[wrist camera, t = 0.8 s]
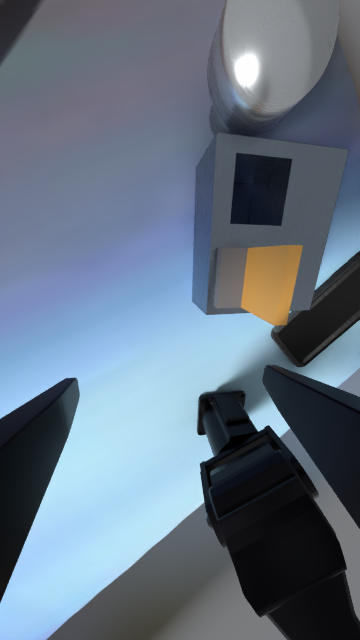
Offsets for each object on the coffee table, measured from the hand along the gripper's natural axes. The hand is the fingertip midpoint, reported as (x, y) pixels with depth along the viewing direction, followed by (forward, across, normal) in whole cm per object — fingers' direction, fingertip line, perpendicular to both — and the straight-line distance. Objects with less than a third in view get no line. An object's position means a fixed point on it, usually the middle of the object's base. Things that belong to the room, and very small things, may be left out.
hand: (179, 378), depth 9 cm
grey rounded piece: (+12, -5, -17) cm, 21 cm away
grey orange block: (+7, -6, -4) cm, 10 cm away
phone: (+13, -22, 0) cm, 25 cm away
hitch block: (+12, -8, -7) cm, 16 cm away
